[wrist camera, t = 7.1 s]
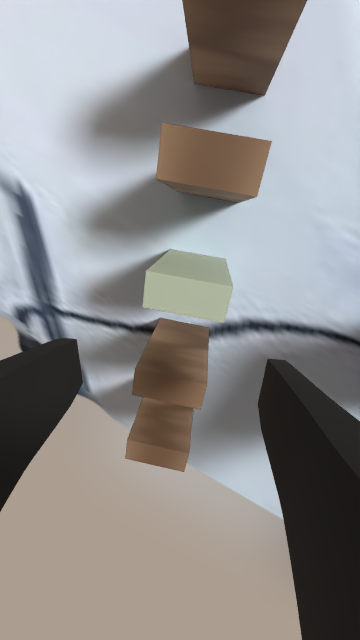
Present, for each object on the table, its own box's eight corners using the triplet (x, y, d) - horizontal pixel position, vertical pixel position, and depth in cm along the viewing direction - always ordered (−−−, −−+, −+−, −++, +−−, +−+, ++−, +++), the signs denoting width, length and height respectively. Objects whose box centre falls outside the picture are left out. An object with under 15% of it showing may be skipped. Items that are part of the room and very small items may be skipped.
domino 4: (209, 327, 20) (207, 384, 13) (204, 346, 21) (200, 409, 14) (160, 317, 20) (135, 369, 14) (157, 337, 21) (132, 394, 14)
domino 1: (275, 51, 13) (337, -108, 7) (264, 95, 14) (310, -9, 7) (200, 40, 13) (188, -126, 7) (194, 83, 14) (178, -28, 8)
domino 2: (246, 171, 15) (271, 141, 9) (239, 202, 16) (256, 196, 10) (183, 159, 16) (162, 122, 9) (178, 191, 16) (155, 178, 10)
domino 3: (225, 259, 18) (232, 286, 11) (220, 283, 18) (224, 322, 12) (170, 249, 18) (145, 270, 11) (167, 273, 19) (142, 307, 12)
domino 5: (195, 382, 22) (188, 453, 16) (192, 397, 23) (183, 472, 16) (152, 372, 22) (127, 439, 16) (150, 388, 23) (125, 458, 17)
